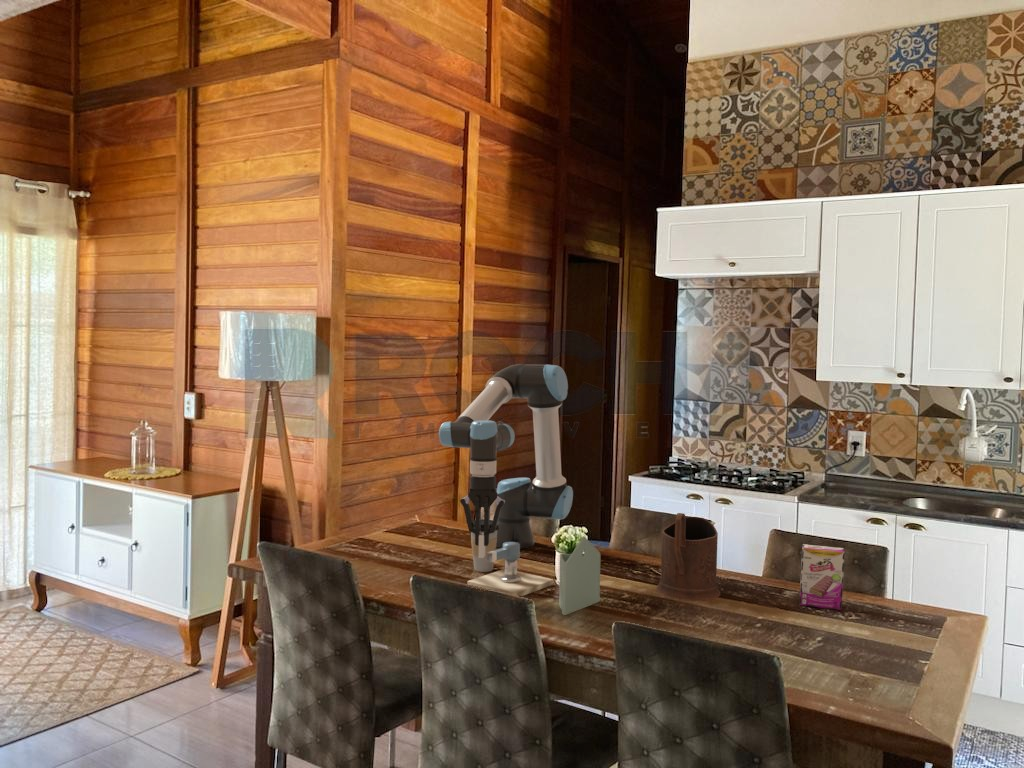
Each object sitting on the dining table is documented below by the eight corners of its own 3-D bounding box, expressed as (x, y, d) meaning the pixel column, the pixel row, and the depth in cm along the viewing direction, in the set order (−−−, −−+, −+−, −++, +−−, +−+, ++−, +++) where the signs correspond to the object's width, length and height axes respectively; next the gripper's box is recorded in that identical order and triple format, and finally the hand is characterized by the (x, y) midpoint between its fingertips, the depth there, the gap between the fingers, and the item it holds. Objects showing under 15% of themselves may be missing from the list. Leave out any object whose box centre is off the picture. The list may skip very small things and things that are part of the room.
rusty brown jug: (726, 587, 256) (729, 503, 254) (709, 609, 234) (711, 518, 233) (665, 578, 264) (667, 497, 262) (642, 600, 242) (645, 511, 240)
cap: (509, 554, 257) (509, 541, 257) (522, 557, 254) (523, 543, 254) (482, 562, 247) (482, 548, 247) (496, 565, 244) (496, 551, 244)
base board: (505, 573, 266) (505, 568, 266) (553, 584, 255) (553, 579, 255) (467, 586, 252) (467, 581, 252) (516, 598, 241) (516, 593, 241)
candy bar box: (799, 606, 239) (801, 547, 238) (799, 601, 243) (801, 543, 243) (842, 611, 235) (845, 551, 234) (842, 605, 240) (844, 547, 239)
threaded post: (508, 576, 258) (509, 554, 258) (524, 579, 254) (525, 558, 254) (496, 580, 253) (496, 558, 253) (512, 584, 249) (512, 562, 249)
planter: (576, 595, 245) (578, 526, 244) (600, 601, 240) (601, 531, 239) (541, 609, 232) (542, 536, 231) (564, 615, 227) (566, 541, 226)
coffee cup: (499, 566, 275) (500, 519, 274) (496, 574, 265) (497, 525, 264) (470, 564, 276) (471, 518, 275) (466, 572, 266) (466, 524, 265)
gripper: (458, 476, 243) (456, 558, 245) (503, 477, 241) (502, 561, 243) (463, 472, 251) (462, 552, 252) (507, 473, 249) (506, 554, 250)
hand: (481, 556), depth 247 cm, fingers closed
